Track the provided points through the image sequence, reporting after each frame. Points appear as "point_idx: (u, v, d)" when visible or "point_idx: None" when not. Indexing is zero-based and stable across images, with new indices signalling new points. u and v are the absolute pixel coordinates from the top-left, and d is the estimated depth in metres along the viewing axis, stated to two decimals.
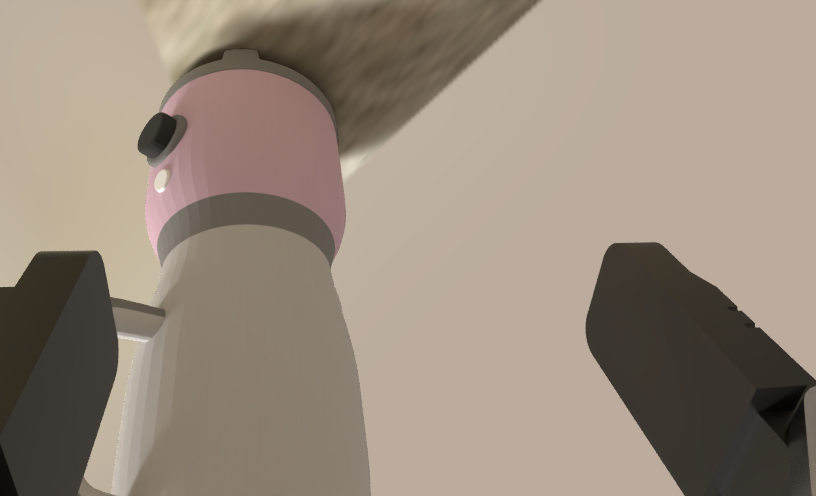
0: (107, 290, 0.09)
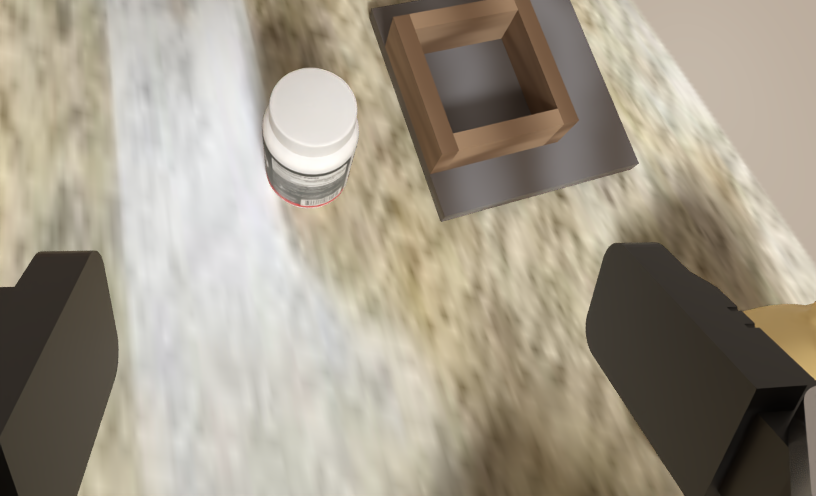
0: (107, 290, 0.09)
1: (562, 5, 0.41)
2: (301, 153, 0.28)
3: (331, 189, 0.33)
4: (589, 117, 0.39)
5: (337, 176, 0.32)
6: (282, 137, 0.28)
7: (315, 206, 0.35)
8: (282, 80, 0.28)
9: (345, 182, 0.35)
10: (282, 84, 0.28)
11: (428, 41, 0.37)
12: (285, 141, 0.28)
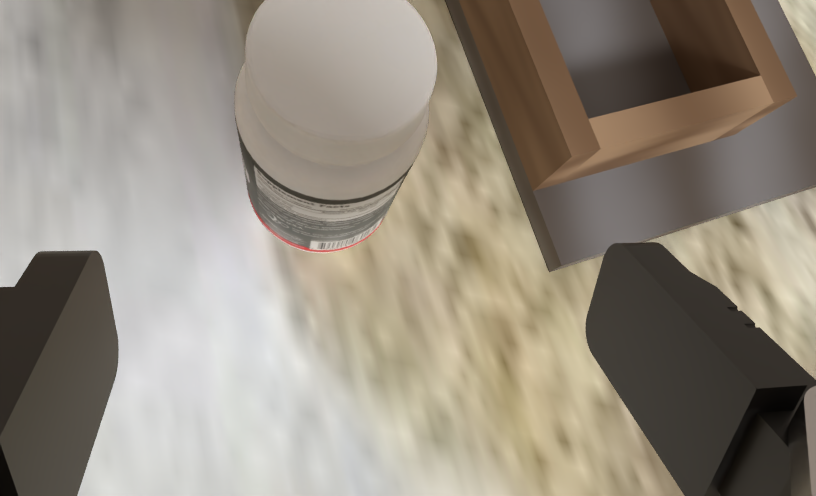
0: (107, 290, 0.09)
1: None
2: (316, 157, 0.13)
3: (368, 223, 0.18)
4: None
5: (383, 201, 0.16)
6: (275, 123, 0.13)
7: (335, 250, 0.20)
8: None
9: None
10: (274, 5, 0.13)
11: None
12: (282, 131, 0.13)
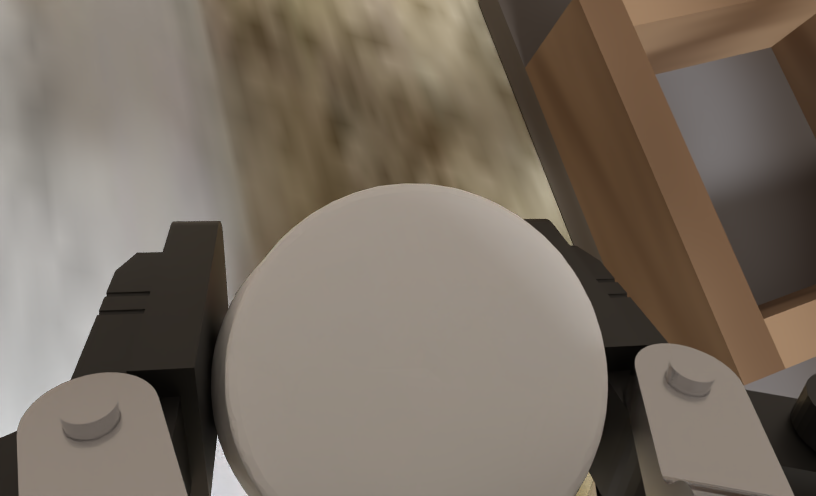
0: (224, 258, 0.10)
1: None
2: None
3: None
4: None
5: None
6: None
7: None
8: (286, 249, 0.06)
9: None
10: (286, 270, 0.06)
11: None
12: None
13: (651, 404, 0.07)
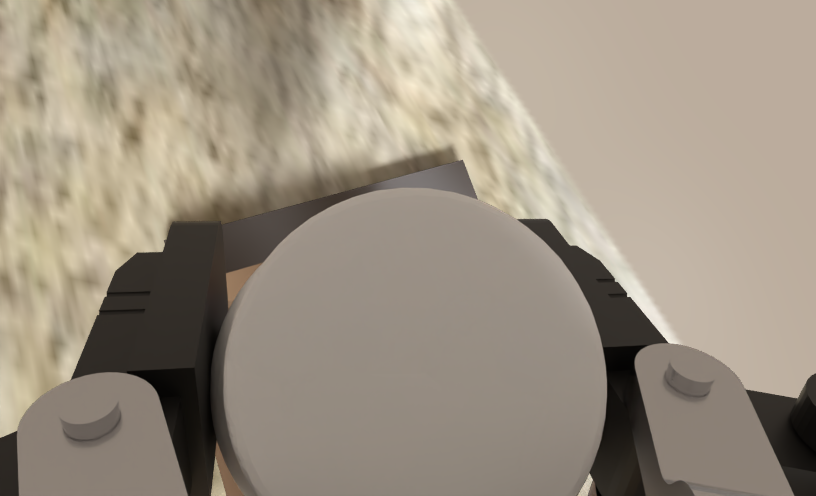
0: (224, 258, 0.10)
1: None
2: None
3: None
4: None
5: None
6: None
7: None
8: (285, 254, 0.06)
9: None
10: (285, 275, 0.06)
11: None
12: None
13: (651, 404, 0.07)
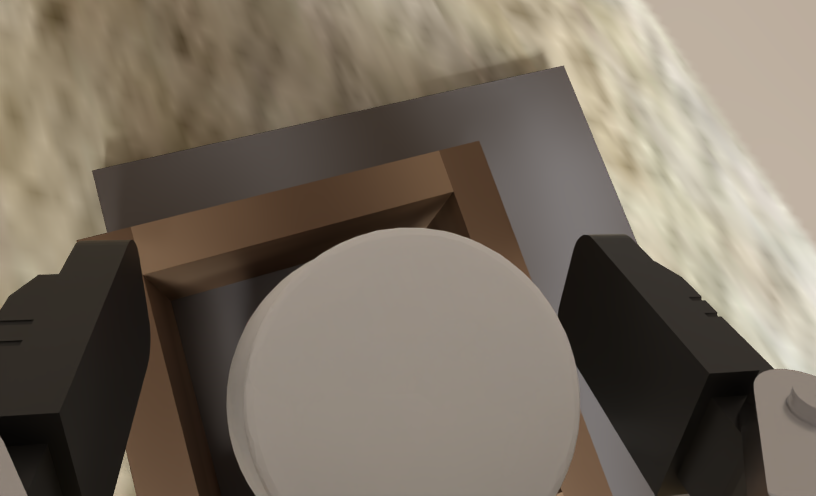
0: (141, 279, 0.09)
1: (570, 137, 0.18)
2: None
3: None
4: None
5: None
6: None
7: None
8: (296, 289, 0.07)
9: None
10: (296, 307, 0.07)
11: (215, 274, 0.14)
12: None
13: (766, 424, 0.06)
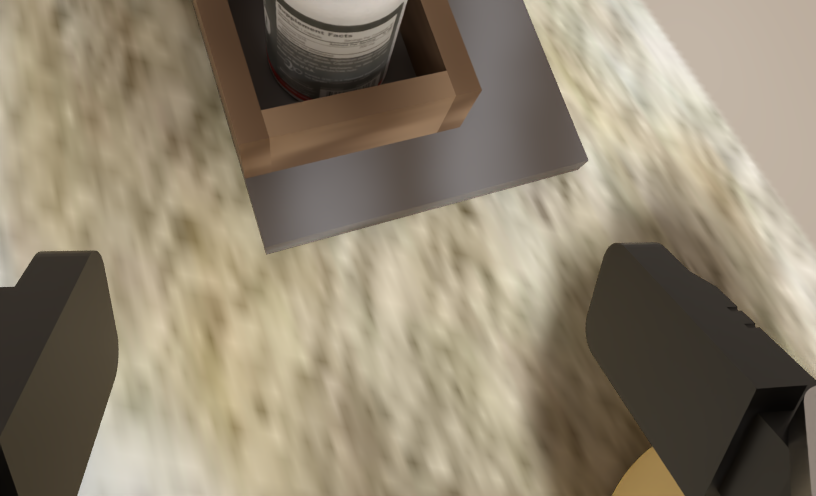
0: (107, 290, 0.09)
1: None
2: None
3: (367, 70, 0.22)
4: (512, 89, 0.26)
5: (379, 41, 0.20)
6: None
7: None
8: None
9: (386, 69, 0.23)
10: None
11: None
12: None
13: (815, 438, 0.06)
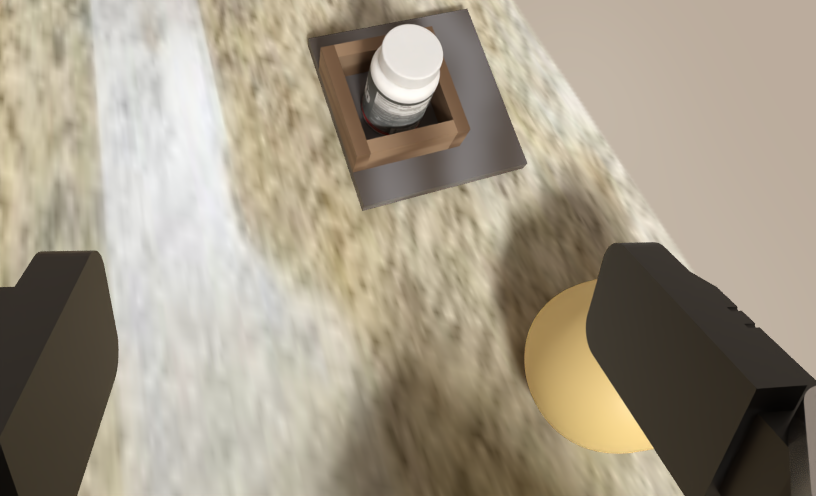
0: (107, 290, 0.09)
1: (468, 33, 0.50)
2: (403, 85, 0.40)
3: (414, 119, 0.44)
4: (487, 126, 0.48)
5: (422, 107, 0.43)
6: (391, 73, 0.39)
7: None
8: (390, 32, 0.39)
9: None
10: (390, 35, 0.39)
11: (352, 65, 0.46)
12: (393, 76, 0.39)
13: (815, 438, 0.06)
